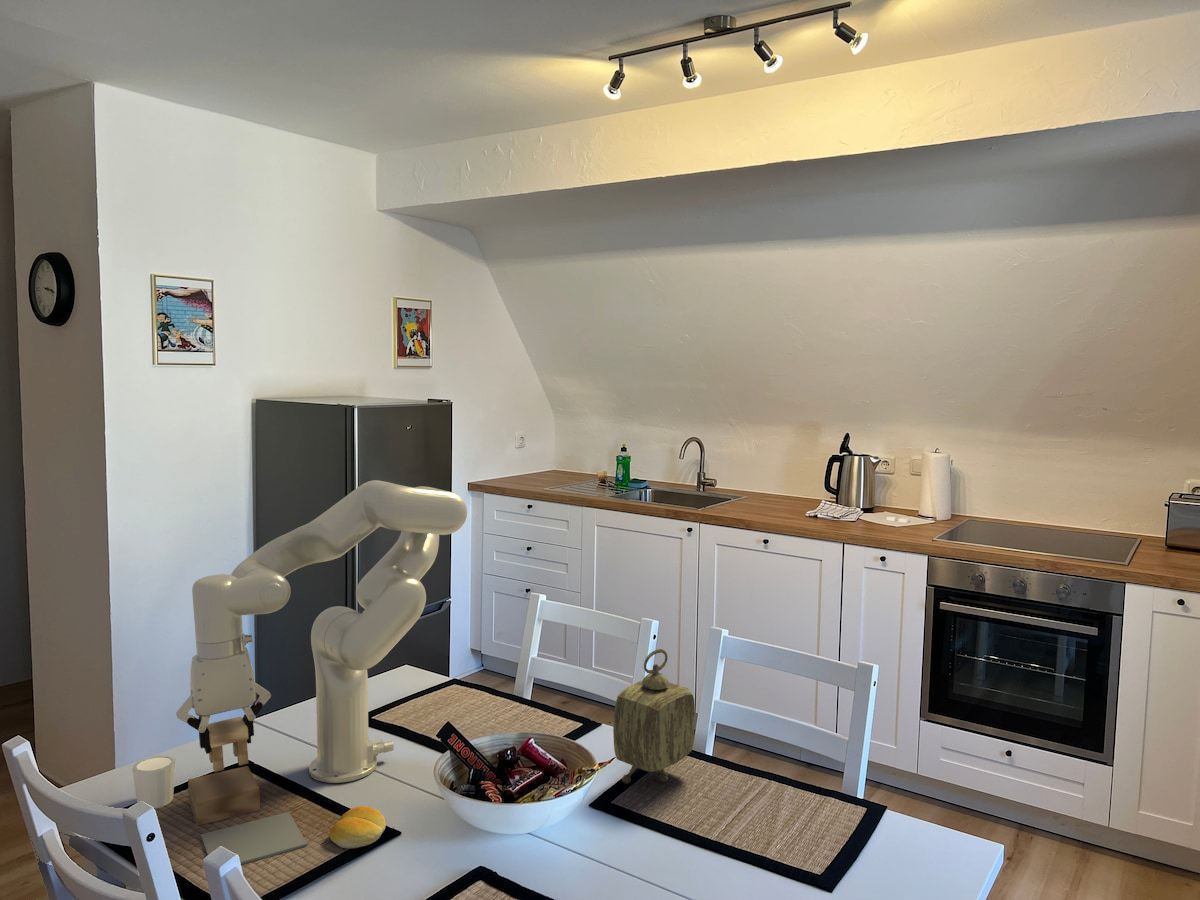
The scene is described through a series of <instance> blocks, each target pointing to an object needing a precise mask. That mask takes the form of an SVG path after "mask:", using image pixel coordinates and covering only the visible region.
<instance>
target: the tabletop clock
mask: <svg viewBox="0 0 1200 900" xmlns="http://www.w3.org/2000/svg"><path fill="white" fill-rule="evenodd" d="M660 653H662V654H663V655H664V661H663V662H662V664H660V665H658V664H653V665H652V669H647V664H648V662H649V660H650V659H651V658H652V657H653V656H654V655H657V654H660ZM667 662H668V653H667V652H666V650H665V649H661V648H660V649H658V648H657V649H655V650H652V651H651V652H650V653H649V654H647V656H646V657H645V660H644V662H643V669H644V672H646V674H647V675H645V676H644V677H643V679H642V680H638V681H637V682H634V683H633V684H630V685H629V686H627V687H625V688H624V689H623V690H621V691H620V693H619V694H618V695H617V697H616V701H615V705H614V715H613V729H612V731H613V749H614V750H613V751H614V755H615V757H616V760H617V761H619V762H622V763H625V764H628V765H630V766H631V768H630V770H629V772H628V774H624V775H623V776H622V778H621V779H622V782H623V783H624V784H629V783H630V782H631V780H632V779H631V776H632V775H633V774H634V772H635V771H636V770H637V769H640V770H643V771H645V772H649V773H653V772H658V771H660V772H661V773H660V775H659V780H660V782H662V783H666V782H668V779H669V775H668V774H667V773H666V772H665V769H666V768H669V767H671V766H673V765H675V764H677V763H678V762H680V761H681V760H683V759H685V758H686V757H687V756H689V754H690V753H691V752H692V751H693V746H694V740H695V725H696V722H695V721H696V716H695V714H696V712H695V711H696V709H695V706H696V705H695V698H694V695H693V693H692V692H691V690H689V688H688V687H685V686H683V685H679V684H676V683H673V682H670V681H669V680H668V678H667V677H666V676H665V675H664V674H663V673H661V672H660V671H661V670H662V669H663V668H665V666H666V664H667Z"/></svg>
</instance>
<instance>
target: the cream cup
mask: <svg viewBox="0 0 1200 900" xmlns="http://www.w3.org/2000/svg"><path fill="white" fill-rule="evenodd" d="M131 770H132V776H133V783H134V788H135V797H136V803H137V802H138V801H144V802H146V803H148V804H150V805H152V806H153V807H154V808H155V809H158V808H163V807H164V806H165V807H166V806H167V805H169V804H171V802H172V801H173V799H174V790H175V789H174V788H175V774H176V773H175V772H176V758H174V757H173V756H170V755H156V756H150V757H146V758H144V759H141V760H139V761H137V762H135V764H133V766H132V768H131Z"/></svg>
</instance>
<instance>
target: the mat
mask: <svg viewBox="0 0 1200 900" xmlns="http://www.w3.org/2000/svg"><path fill="white" fill-rule="evenodd" d="M200 838H201V840H202V844H203V846H204V849H205V852H206V856H208V854H209V853H210V852H212V851H213V850H214V849H216V848H217V847H219V846H223V847H226V848H228V849H230V850H232V851H234V852H236V853H238V854H239V855H240V859H241V864H242V865H245V864H248V863H252V862H256V861H259V860H263V859H267V858H269V857H270V858H271V857H273V856H277V855H280V854H283V853H286V852H287V853H288V852H291V851H295V850H298V849H302V848H305V847H308V843H307V841H306V840H305V838H304V835H303V834H302V832H301V831H300V829H299V827H298V825H297V823H296V822H295V820H294V818H293V816H292V815H291V812H290V811H287V812H283V813H279V814H273V815H271V816H266V817H264V818H259V819H256V820H250V821H248V822H244V823H239V824H236V825H233V826H228V827H224V828H221V829H216V830H213V831H209V832H206V833H201V834H200Z"/></svg>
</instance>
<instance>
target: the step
mask: <svg viewBox="0 0 1200 900" xmlns="http://www.w3.org/2000/svg"><path fill="white" fill-rule="evenodd" d="M187 780H188V781H187V782H188V783H187V784H188V786H187V787H188V788H187V790H188V802H190V803H189V806H190V805H191V806H190V808H192V809H191V811H192V814H193V817H194V819H195V822H196V826H197V825H199V826H202V824H203V825H207V824H210V823H211V824H212V823H215V822H217V821H222V820H226V819H230V818H234V817H238V816H242V815H246V814H250V813H254V812H258V811H260V810H261V801H260V800H261V798H260V787H259V785H258V783H257V781H256V779H255V777H254V776H253V773H252V771H251V770H250V768H249V766H248V765H244V766H241V767H237V768H231V769H227V770H222V771H220V772H219V771H217V772H214V773H211V774H206V775H205V774H204V775H201V776H197V777H193V778H189V779H187Z"/></svg>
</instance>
